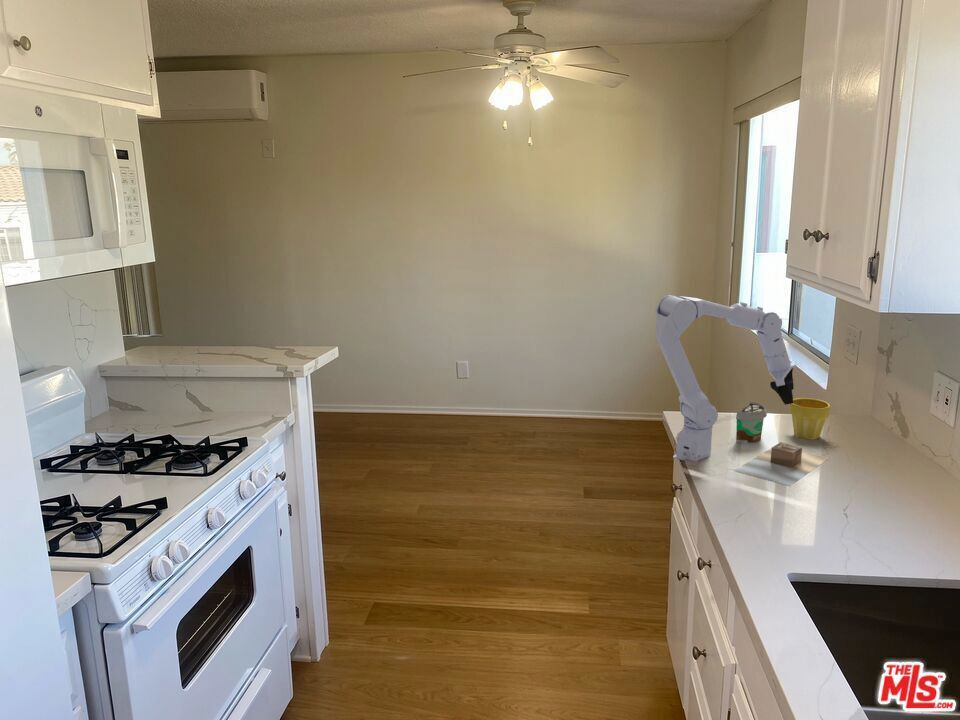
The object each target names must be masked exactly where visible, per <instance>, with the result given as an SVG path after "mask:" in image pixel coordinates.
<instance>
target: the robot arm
mask: <svg viewBox="0 0 960 720" xmlns="http://www.w3.org/2000/svg"><path fill="white" fill-rule="evenodd" d="M654 312H655V314H656V326H655V327H656V328H655V339H656V341H657V344H658V347H659V348H660V351H661V353H662V355H663V357H664V359H665V362H666V364H667V367H668V368H669V369H668V370H669V371H670V374H671V376H672V379H673V380H674V383H675V385H676V388H677V390H678V392H679V394H680V395H679V396H678V400H679V403H680V404H679V410H680V411H679V412H680V415H682V416H683V427H682V429H681V430H680V431H679V432H678V433H677V435H676V450H675V451H676V452H675V454H674V455H673V456H672V458H673V459H676V460H679V461H680V460H681V461H685V460H689V461H693V462H698V461H700V460H702V459H705V458H708V457H711V455H712V436H713V427H714V425H715V424H716V422H717V421H718V417H719V412H718V410H717V408H716V407H715V406H714V405H712V403H711V402H710V399H709V398H708V397H707V396H706V395H705V393H704V392H703V391H702V389H701V388H700V385H699V382H698V380H697V378H696V376H695V373H694V371H693V368H692V366H691V363H690V361H689V359H688V357H687V355H686V352H685V350H684V347H683V345H682V342H681V340H680V337H681V336H682V334H683V333H684V332H685V331H686V329H688V327H689V326H690V325H691V324H692V323H693V322H694V320H695V319H700V318H701V317H702V316H703V315H706V316H711V317H716V318H720V319H726V321H727V323H728V325H730V326H734V327H739V328H743V329H746V330H751V331H756V336H757V338H758V342H759V345H760V347H761V351H762V354H763V356H764V360H765V363H766V366H767V371H768V373H769V375H770V376H771V377H772V378H773V379H774V381H770V384H769V387H770V388H771V389H772V390H773V391H775V392H776V393H777V394H778V396H779V398H780V400H781V401H782V402H783V404H784V405H785V406H786V405H790V404H792V403H793V399H794V396H793V390H794V388H795V387H794V378H793V371H794V370H793V369H794V368H797V363H796V361H794V362H793V361H791V359H790V356H789V353H788V351H787V347H786V344H785V340H784V338H783V334H782V330H781V328H782V325H783V319H782V318H781V317H780V316H779V315H778V313H775V312H774V311H771V310H767V309H764V308H763V307H761V306H757V307H753V306H748V303H747V302H743V301H740V302H739V303H733V304H732V305H730V306H727V305H723V304H721V303H715V302H712V301H709V300H705V299H701V298H697V297H690V296H680V295H679V296H676V295H674V294H667V295H665V296H663V297H662V298H661V299H660V301H659V302H658V305H657V306H656V309H655V311H654Z"/></svg>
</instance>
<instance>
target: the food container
mask: <svg viewBox="0 0 960 720" xmlns="http://www.w3.org/2000/svg"><path fill="white" fill-rule="evenodd" d="M767 414H768V413H767V409H766V407H765V405H763V404H761V403H759V402H756V401H752V400H751V401H749V404H748V406H745V407H744V408H743V409H742V410H741V411H736V416H735V419H736V433H735V434H736V436H735V437H736V441H735V442H737V443H745V444H746V443H747V444H748V443H749V444H750V443H757V442H759V441H761V440H762V433H763V432H762V431H763V425H764V420H765V418H767Z"/></svg>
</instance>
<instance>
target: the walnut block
mask: <svg viewBox="0 0 960 720" xmlns="http://www.w3.org/2000/svg"><path fill="white" fill-rule="evenodd" d="M770 449H771V463H775V464H779V465H782V466H786V467H790V468H793V467H794V466H796V465H797V464H799V463H800V462H801V457H802V452H803V446H799V445H795V444H791V443H786V442H782V441H780V442H779V443H777V444H776V445H773V446H772V447H771V448H770Z"/></svg>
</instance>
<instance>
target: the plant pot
mask: <svg viewBox="0 0 960 720" xmlns="http://www.w3.org/2000/svg"><path fill="white" fill-rule="evenodd" d="M830 413H831V405H830V403H828V402H827V401H825V400H821V399H817V398H809V397H797V398H793V403H792V404H789V414H790V415H791V417H792V418H791V419H792V426H793V434H794V436H795V437H797V438H800V439H804V440H817V438H818V439H820V437H821V434H822V431H823V428H824V425H825V422H826V420H827V418H829V416H830Z"/></svg>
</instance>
